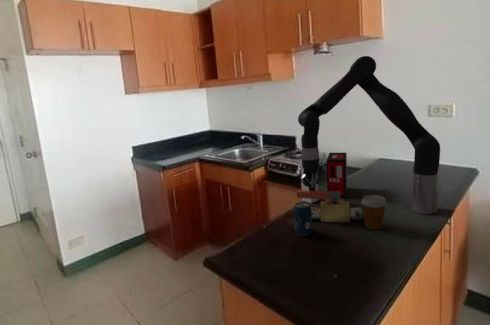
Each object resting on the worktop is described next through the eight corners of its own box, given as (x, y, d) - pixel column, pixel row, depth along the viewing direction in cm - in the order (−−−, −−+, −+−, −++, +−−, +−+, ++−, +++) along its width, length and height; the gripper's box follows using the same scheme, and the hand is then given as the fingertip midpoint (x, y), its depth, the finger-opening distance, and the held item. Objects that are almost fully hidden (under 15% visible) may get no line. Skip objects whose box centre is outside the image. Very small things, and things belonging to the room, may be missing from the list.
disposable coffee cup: (385, 222, 139) (386, 194, 136) (386, 232, 130) (387, 203, 127) (361, 220, 142) (361, 194, 139) (361, 230, 133) (361, 202, 130)
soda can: (291, 231, 137) (290, 203, 134) (305, 227, 140) (304, 200, 137) (300, 238, 131) (299, 209, 128) (315, 233, 134) (314, 205, 131)
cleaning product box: (330, 187, 187) (329, 152, 182) (346, 188, 184) (346, 152, 179) (327, 197, 172) (326, 159, 167) (345, 198, 169) (345, 159, 164)
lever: (340, 197, 145) (340, 191, 144) (339, 201, 141) (339, 194, 140) (298, 195, 152) (298, 189, 151) (296, 198, 148) (296, 192, 147)
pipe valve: (360, 215, 147) (360, 195, 144) (362, 222, 140) (362, 201, 138) (302, 215, 152) (301, 195, 150) (302, 221, 145) (301, 201, 143)
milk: (310, 203, 166) (309, 160, 161) (301, 200, 171) (300, 158, 165) (319, 200, 169) (317, 157, 164) (310, 197, 174) (308, 156, 169)
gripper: (313, 152, 153) (315, 188, 157) (293, 159, 145) (295, 196, 150) (327, 154, 147) (328, 191, 151) (306, 161, 139) (308, 200, 144)
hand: (312, 194), depth 150 cm, fingers closed
